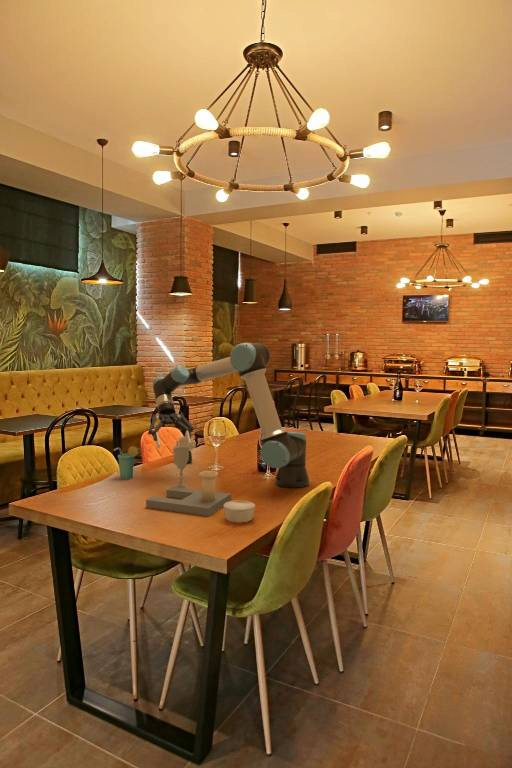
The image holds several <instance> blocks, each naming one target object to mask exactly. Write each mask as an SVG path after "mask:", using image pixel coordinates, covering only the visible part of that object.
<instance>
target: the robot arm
mask: <svg viewBox="0 0 512 768" xmlns="http://www.w3.org/2000/svg"><path fill="white" fill-rule="evenodd" d="M229 355H230V356H228V357H224V358H221V359H217V360H215V361H212V362H209V363H205V364H202V365H199V366H195V367H192V368H186V366H183V365H182V364H181V365H179V364H178V365H177V366H175V367H174V368H173V369H172V370H171V371H170V372H168V374H167V375H166V376H158V377H157V378H154V380H153V382H152V390H153V394H154V398H155V403H156V407H157V411H158V412H157V413H158V415H157V414H155V413H154V414H153V416H152V422H151V424H150V426H149V429H148V432H147V434H148V435H151V436H152V438H153V439H152V440H153V442H156V447H157V449H160V447H161V440H160V436H159V431H160V429H161V428H162V427H163V426H164V425H174V426H176V427H178V428H179V429H180V430H182V431H183V432H185V433H184V436H186V439H187V443H188V446H190V444H191V440H190V439H191V437H192V433H193V431H194V429H195V427H194V426H193V425H192V424H191V423H190V422H189V420H188V419H187V418H186V417H185V415H184V413H183V412H181V413H180V414H178V413H176V409H175V408H176V407H175V403H174V399H173V396H172V393H173V392H175V390H176V389H178V388H179V387H181V386H189V385H198V384H201V383H202V382H206V381H209V380H212V379H217V378H220V377H224V376H227V375H230V374H233V373H238V375H239V377H240V379H242V380H243V381H245V384H246V388H247V390H248V394H249V397H250V400H251V402H252V406H253V409H254V412H255V415H256V418H257V421H258V424H259V426H260V427H259V428H260V430H261V433H262V436H261V438H260V441H261V442H260V443H261V445H262V446H261V448H260V457H261V460H262V462H263V463H264V464H265V465H267V466H268V467H269V468H272V469H277V472H276V475H275V478H274V484H275V485H276V484H277V485H276V486H279V487H282V488H288V487H300V488H304V486H305V487H308V486H309V485H310V477H309V475H308V471H307V470H308V469H307V466H306V464H307V463H306V462H307V460H306V459H307V456H306V455H307V442H308V441H307V435H306V433H304V432H296V431H287V430H286V429H284V428H283V427H282V423H281V421H280V418H279V415H278V411H277V408H276V405H275V403H274V402H275V401H274V399H273V396H272V394H271V390H270V387H269V384H268V381H267V377H266V376H265V375H266V374H265V373H266V371H267V366H268V365H269V364H270V361H271V357H272V356H271V351H270V349H269V348H268V347H267V345H265V344H263V343H261V342H242V343H239V344H237V345H235V346H234V347H233V348H232V349H231V352H230V354H229ZM158 420H159V422H158V424H157V426H155V424H156V422H157V421H158ZM154 427H155V428H154ZM307 485H308V486H307Z"/></svg>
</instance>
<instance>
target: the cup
mask: <svg viewBox="0 0 512 768" xmlns="http://www.w3.org/2000/svg"><path fill="white" fill-rule="evenodd" d="M117 450H118V451H119V454H118V455H117V458H118V466H119V467H118V468H119V477H121V478H122V479H121V478H120V479H121V480H131V479H133V478H132V477H133V475H134V468H135V467H134V466H135V465H134V464H135V457H137V456H138V454H139V450H138V447H137V446H134V445H132V446H130V447H129V448H128V450H127V452H125V453H123V452H122V449H121V447H119V446H118V447H116V448H114V449H112V451H113V452H116V451H117ZM130 478H131V479H130Z"/></svg>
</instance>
